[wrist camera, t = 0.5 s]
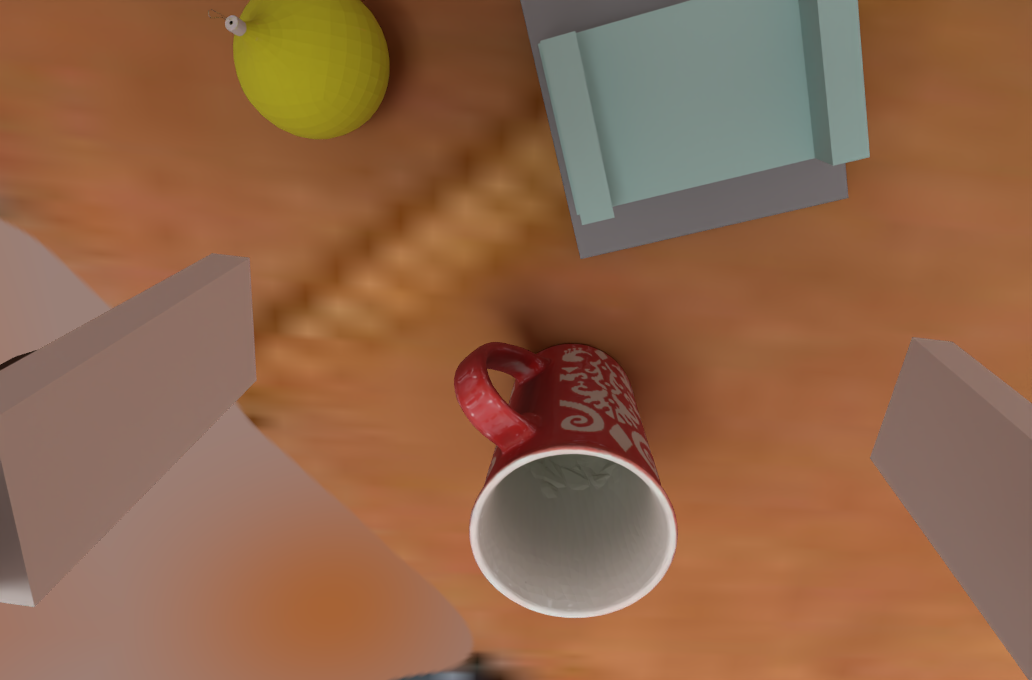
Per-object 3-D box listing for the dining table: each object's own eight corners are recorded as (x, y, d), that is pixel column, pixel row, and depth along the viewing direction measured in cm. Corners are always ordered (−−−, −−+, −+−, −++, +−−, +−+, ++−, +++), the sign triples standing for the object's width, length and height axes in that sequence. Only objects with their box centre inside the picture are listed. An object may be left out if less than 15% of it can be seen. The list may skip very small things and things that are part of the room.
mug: (677, 417, 42) (718, 567, 30) (554, 484, 45) (544, 648, 32) (560, 249, 39) (551, 338, 26) (435, 332, 41) (372, 450, 29)
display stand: (517, -16, 34) (504, -33, 28) (813, -106, 32) (868, -145, 26) (580, 254, 39) (580, 289, 33) (841, 194, 36) (892, 220, 30)
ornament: (276, -30, 35) (166, -62, 26) (414, 1, 35) (353, -20, 26) (267, 115, 37) (165, 134, 28) (394, 144, 37) (333, 172, 28)
